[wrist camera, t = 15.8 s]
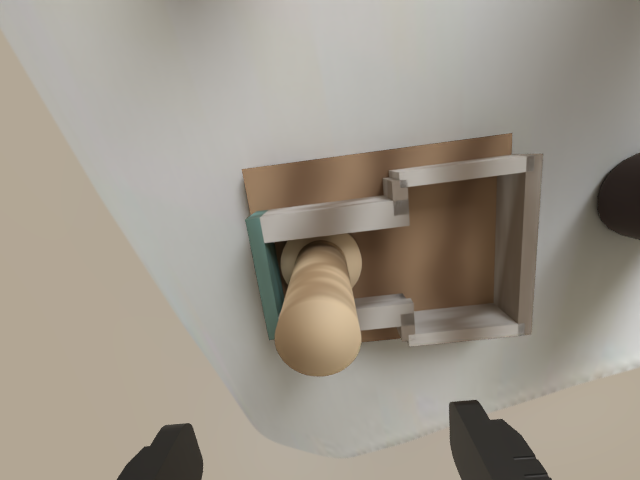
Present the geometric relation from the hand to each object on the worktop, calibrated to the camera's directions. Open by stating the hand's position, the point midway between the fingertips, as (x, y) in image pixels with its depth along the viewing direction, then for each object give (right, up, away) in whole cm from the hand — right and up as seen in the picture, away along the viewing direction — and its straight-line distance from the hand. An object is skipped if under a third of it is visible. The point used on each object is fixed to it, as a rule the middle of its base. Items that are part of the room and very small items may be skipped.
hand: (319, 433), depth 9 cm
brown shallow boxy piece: (+5, +5, +16) cm, 18 cm away
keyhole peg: (0, +4, +15) cm, 16 cm away
